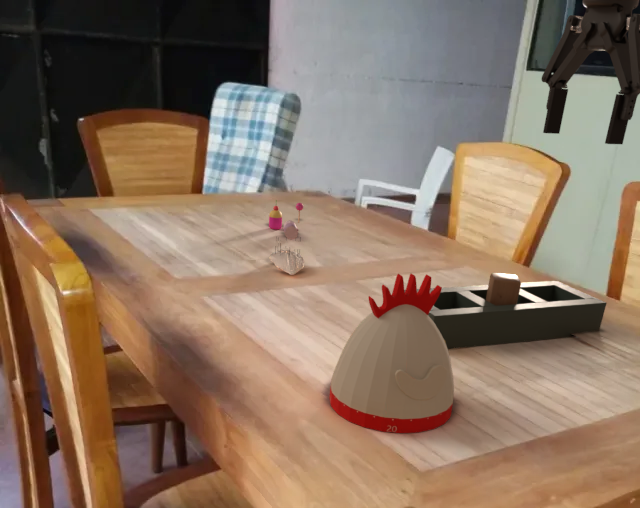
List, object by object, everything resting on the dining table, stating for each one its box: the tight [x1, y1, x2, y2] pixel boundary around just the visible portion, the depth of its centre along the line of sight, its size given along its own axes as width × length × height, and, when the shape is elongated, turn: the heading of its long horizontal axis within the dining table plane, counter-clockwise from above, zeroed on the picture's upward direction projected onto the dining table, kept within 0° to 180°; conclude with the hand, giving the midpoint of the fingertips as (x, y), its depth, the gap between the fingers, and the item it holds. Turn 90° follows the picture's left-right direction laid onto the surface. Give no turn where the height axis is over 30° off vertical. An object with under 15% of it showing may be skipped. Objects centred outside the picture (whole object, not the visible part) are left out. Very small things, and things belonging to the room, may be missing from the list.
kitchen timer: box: [328, 273, 455, 434], centre depth 77 cm, size 14×14×15 cm
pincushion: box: [268, 237, 305, 276], centre depth 126 cm, size 12×6×6 cm, turn 11°
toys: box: [268, 199, 304, 241], centre depth 154 cm, size 18×8×6 cm, turn 6°
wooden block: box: [486, 272, 522, 306], centre depth 104 cm, size 4×4×8 cm
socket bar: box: [404, 280, 608, 350], centre depth 105 cm, size 11×30×5 cm, turn 113°
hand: (580, 138), depth 109 cm, fingers open, 13 cm apart
